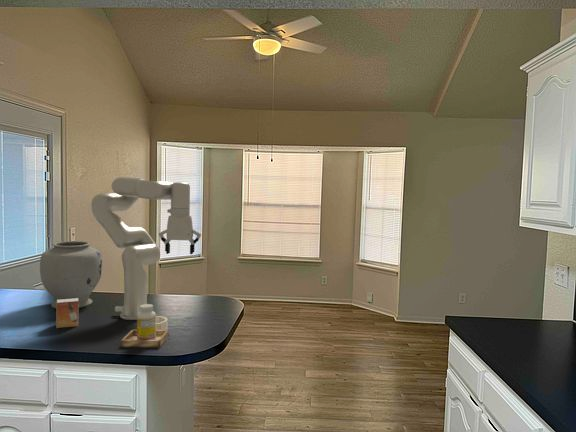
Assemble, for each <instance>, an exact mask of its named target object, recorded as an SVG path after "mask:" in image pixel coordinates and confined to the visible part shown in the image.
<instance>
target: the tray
mask: <svg viewBox="0 0 576 432" xmlns="http://www.w3.org/2000/svg"><path fill="white" fill-rule="evenodd" d="M169 336H170V330H169V329H167V330H156V338H155V339H154V340H137V328H136V329H135V328H134V329H131V330H130V331H129V332H128V333H127V334H126V335H125V336H124V337H123V338H122V339H121V340H120V348H159V349H160V348H161V347H162V346H163V345H164V343H165V342H166V340H167V339H168V338H169Z"/></svg>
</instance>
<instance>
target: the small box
mask: <svg viewBox="0 0 576 432" xmlns="http://www.w3.org/2000/svg"><path fill="white" fill-rule="evenodd" d="M79 309H80V308H79V304H78V298H74V299H62V300H57V308H56V312H55V313H56V318H55V319H56V320H55V321H56V326H55V327H56V329H59V328H71V327H79Z"/></svg>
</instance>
